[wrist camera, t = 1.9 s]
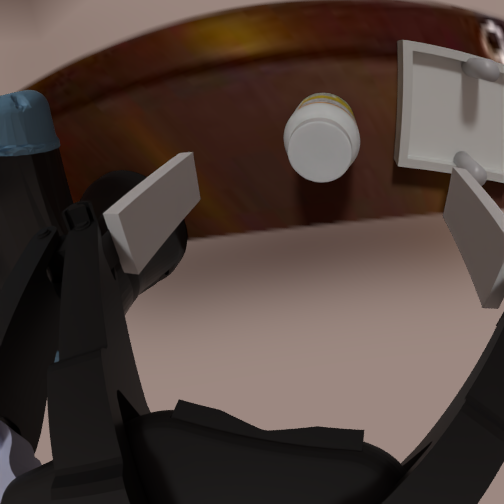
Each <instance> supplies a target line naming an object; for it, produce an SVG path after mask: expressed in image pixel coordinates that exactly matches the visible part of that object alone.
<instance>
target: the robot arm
mask: <svg viewBox="0 0 504 504" xmlns="http://www.w3.org/2000/svg"><path fill="white" fill-rule="evenodd" d="M59 141H60V140H59V138H58V137H57V136H56V134H55V130H54V126H53V121H52V117H51V113H50V108H49V104H48V102H47V100H46V98H45V97H44V96H43V95H42V94H41V93H39V92H37V91H33V90H25V91H19V92H14V93H10V94H6V95H2V96H0V504H478V502H479V501H480V499H481V498H482V496H483V495H484V493H485V492H486V490H487V489H488V487H489V485H490V484H491V482H492V481H493V479H494V477H495V476H496V474H497V472H498V471H499V469H500V467H501V465H502V464H503V462H504V312H503V314H502V316H501V318H500V319H499V321H498V323H497V325H496V326H497V327H496V329H495V331H494V333H493V335H492V337H491V339H490V341H489V343H488V344H487V346H486V348H485V350H484V352H483V353H482V355H481V357H480V359H479V360H478V362H477V364H476V366H475V367H474V369H473V371H472V372H471V374H470V376H469V377H468V379H467V380H466V382H465V383H464V385H463V387H462V388H461V390H460V391H459V392H458V394H457V396H456V397H455V398H454V400H453V401H452V403H451V404H450V405H449V407H448V408H447V410H446V411H445V412H444V414H443V415H442V416H441V418H440V419H439V420H438V422H437V423H436V424H435V426H434V427H433V428H432V429H431V431H430V432H429V433H428V434H427V436H426V437H425V438H424V439H423V440H422V442H421V443H420V444H419V445H418V446H417V447H416V449H415V450H414V451H413V452H412V453H411V454H410V455H409V456H408V457H407V458H406V459H405V460H404V461H403V462H402V463H401V464H400V463H399V462H398V461H397V460H396V459H395V458H394V457H393V456H391V455H390V454H389V453H387V452H385V451H384V450H382V449H380V448H378V447H376V446H374V445H371V444H369V443H366V442H363V437H364V430H352V429H339V428H327V427H308V428H298V429H286V430H273V431H267V430H262V429H259V428H257V427H255V426H253V425H250V424H248V423H246V422H244V421H242V420H240V419H238V418H236V417H233V416H231V415H229V414H227V413H225V412H223V411H221V410H218V409H214V408H209V407H206V406H201V405H198V404H194V403H190V402H186V401H183V400H178V403H177V405H176V407H175V409H174V410H166V411H157V412H152V413H151V412H150V410H149V408H148V406H147V403H146V400H145V397H144V393H143V390H142V386H141V383H140V379H139V375H138V371H137V368H136V364H135V360H134V356H133V352H132V347H131V343H130V339H129V334H128V329H127V324H126V320H125V314H126V313H127V311H128V309H129V308H130V307H131V305H132V304H133V302H134V301H135V299H136V298H137V297H138V295H139V294H141V293H143V292H144V291H146V290H147V289H149V288H150V287H152V286H153V285H155V284H156V283H157V282H158V281H160V280H162V279H164V278H165V277H167V276H168V275H170V274H171V272H173V270H174V269H175V268H176V266H177V265H178V263H179V262H180V261H181V259H182V257H183V255H184V253H185V250H186V245H187V233H186V227H185V223H184V220H183V219H184V218H185V217H186V216H187V214H188V213H189V212H190V211H191V210H192V208H193V207H194V206H195V205H196V204H197V203H198V201H199V200H200V193H199V187H198V181H197V175H196V169H195V163H194V157H193V152H188V153H179V154H178V155H176V156H175V157H174V158H172V159H171V160H169V161H168V162H167V163H165V164H164V165H163V166H161V167H160V168H159V169H157V170H156V171H155V172H153V173H152V174H151V175H150V176H148V177H145V176H143V175H141V174H138V173H135V172H131V171H124V170H120V171H113V172H110V173H107V174H105V175H103V176H102V177H100V178H99V179H98V180H96V181H95V182H93V183H92V184H91V185H90V186H89V187H88V188H87V189H86V191H85V192H84V194H83V196H82V198H81V199H80V201H79V202H76V203H74V204H73V201H72V197H71V194H70V190H69V186H68V183H67V179H66V175H65V171H64V167H63V163H62V159H61V154H60V150H59V147H60V142H59ZM443 218H444V219H445V222H446V224H447V226H448V228H449V230H450V232H451V234H452V236H453V238H454V240H455V242H456V244H457V246H458V248H459V251H460V253H461V255H462V257H463V260H464V262H465V264H466V267H467V269H468V271H469V274H470V275H471V279H472V281H473V284H474V286H475V289H476V291H477V294H478V296H479V299H480V302H481V305H482V308H496V309H498V308H499V306H500V304H501V302H502V300H503V298H504V213H503V212H502V211H501V209H500V208H499V207H498V206H497V204H496V203H495V202H494V201H493V200H492V198H491V197H490V196H489V195H488V194H487V192H486V191H485V190H484V189H483V188H482V187H481V185H480V184H479V183H478V182H477V181H476V180H475V179H474V177H473V176H472V175H471V174H470V173H469V172H468V171H467V170H466V169H463V168H457V167H453V168H452V174H451V179H450V185H449V190H448V195H447V200H446V204H445V209H444V213H443ZM46 400H47V401H48V417H49V430H50V440H51V447H52V456H53V460H52V461H50V462H48V463H46V464H43V465H41V463H40V461H39V460H38V459H37V458H35V457H34V453H35V451H36V448H37V445H38V441H39V438H40V434H41V429H42V424H43V419H44V412H45V406H46Z"/></svg>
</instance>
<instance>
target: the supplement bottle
mask: <svg viewBox="0 0 504 504" xmlns="http://www.w3.org/2000/svg"><path fill="white" fill-rule="evenodd" d="M284 145H285V149H286V152H287V154H288V158H289V161H290V163H291V165H292V167H293V168H294V170H295V171H296V172H297V173H298V174H299V175H301V176H302V177H304V178H305V179H308V180H310V181H313V182H320V183H324V182H330V181H333V180H335V179H337V178H339V177H341V176H342V175H343V174H344V173H345V172H346V171H347V169H348V168H349V166H350V165H351V164H352V163H353V162H354V160H355V159H356V157H357V155H358V152H359V147H360V135H359V131H358V127H357V124H356V121H355V118H354V114H353V112H352V110H351V108H350V107H349V105H348V104H347V103H346V102H345V101H344V100H343V99H341V98H339V97H338V96H335V95H333V94H329V93H317V94H313V95H311V96H309V97H307V98H306V99H304V100H303V101H302V102H301V103H300V105H299V106H298V107H297V109H296V110H295V112H294V113H293V115H292V116H291V117H290V119H289V120H288V122H287V124H286V127H285V131H284Z"/></svg>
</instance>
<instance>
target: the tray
mask: <svg viewBox="0 0 504 504" xmlns="http://www.w3.org/2000/svg"><path fill="white" fill-rule="evenodd" d="M397 46H398V98H397V121H396V137H395V150H394V160H395V162H396V164H397V166H399V167H407V168H416V169H423V170H431V171H438V172H445V173H451V174H452V168H453V167H457V168H463V169H466V170H467V171H468V172H469V173H470V174H471V175H472V176H473V177H474V179H475V180H476V181H477V182H478V183H479V184H480V185H481V186H482V185H484V184H485V182H486V180H491V181H496V182H501V183H504V65H503V64H500V63H497V62H494V61H493V60H491V59H485V58H482V57H478V56H475V55H471V54H468V53H464V52H460V51H456V50H452V49H448V48H444V47H439V46H434V45H430V44H424V43H419V42H413V41H407V40H400V41H397Z"/></svg>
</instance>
